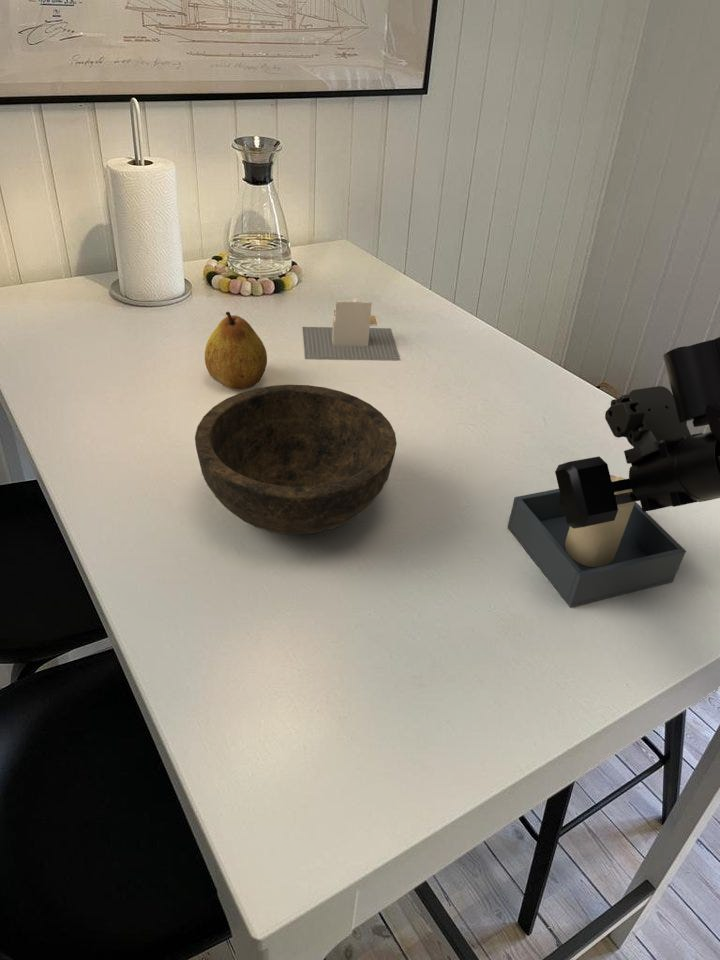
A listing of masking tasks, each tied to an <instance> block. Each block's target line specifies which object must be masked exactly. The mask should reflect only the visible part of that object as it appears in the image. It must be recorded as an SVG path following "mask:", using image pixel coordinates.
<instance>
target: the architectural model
mask: <svg viewBox="0 0 720 960" xmlns="http://www.w3.org/2000/svg"><path fill="white" fill-rule="evenodd" d="M335 303H336V304H335V310H334V311H333V312H334V313H333V316H332V327H331V326H302V337H303V339H302V340H303V350H304V359H305V360H357V361H360V360H365V361H367V360H369V361H370V360H371V361H372V360H373V361H375V360H376V361H401V357H400V354H399V350H398V346H397V344H396V341H395V340H396V339H395V337H394V333H393V331H392V328H391V327H390V328H389V327H388V328H387V327H378V322H377V318H376V315H372V313H371V312H372V304H373V303H372V301H359V299H358V297H354V299H352V300H351V301H335Z"/></svg>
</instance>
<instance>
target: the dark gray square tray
mask: <svg viewBox="0 0 720 960" xmlns="http://www.w3.org/2000/svg"><path fill="white" fill-rule="evenodd" d="M559 494H560V491H559V488H555V489H549V490H545V491H539V492H534V493H529V494H523V495H518V496H514V499H513V502H512V507H511V510H510V515H509V519H508V523H507V529H508V530H509V532H510V533H511V534H512V536H513V537H514V538H515V539H516V540H517V541H518V543H519V544H520V546H521V547H522V549H524V550H525V552H526V553H527V554H528V556H529V557H530V559H531V560H532V561H533V563H535V565H536V566H537V568H538V569H539V570H540V571H541V572H542V574H543V575H544V577H546V579H547V580H548V581H549V582H550V584H551V585H552V587H553V588H554V589H555V590H556V591H557V593H558V594H559V595H560V597H561V598H562V599H563V601H564V602H565V603H566V605H567V606H568V607H569V608H574V607H578V606H582V605H586V604H590V603H594V602H598V601H602V600H606V599H611V598H614V597H618V596H623V595H626V594H629V593H634V592H639V591H642V590H645V589H646V590H647V589H651V588H654V587H659V586H663V585H666V584H670V583H673V582H674V580H675V577H676V575H677V573H678V571H679V569H680V566H681V564H682V562H683V560H684V558H685V556H686V553H687V551H686V550H685V548H684V547H682V546H681V544H680V543H679V542H677V540H676V539H674V538H673V537H672V536H671V535H670V534H669V533H668V532H667V531H666V530H665V529H664V528H663V527H662V525H660V524H659V523H658V522H657V521H656V520H655V519H654V518H653V517H652V516H651V515H650V514H649V513H648V511H646V512H643V511H642V506H641V504H639V503H637V501H636V502H635V503H634V506H633V509H632V512H631V514H630V517H629V520H628V523H627V525H626V528H625V531H624V533H623V536H622V539H621V542H620V544H619V547H618V550H617V552H616V555H615V557H614V559H613V561H612V562H611V563H610V564H609V565H607V566H603V567H589V566H585V565H582V564H580V563H578V562H576V561H575V560H573V559H572V558H571V557H570V556H569V555H568V553H567V552H566V549H565V541H566V538H567V534H568V531H569V528H570V526H569V525H568V524H567V521H566V517H565V513H564V508H563V505H561V503H560V499H559Z"/></svg>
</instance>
